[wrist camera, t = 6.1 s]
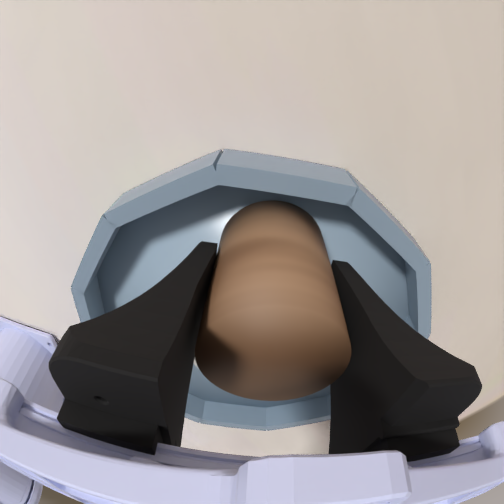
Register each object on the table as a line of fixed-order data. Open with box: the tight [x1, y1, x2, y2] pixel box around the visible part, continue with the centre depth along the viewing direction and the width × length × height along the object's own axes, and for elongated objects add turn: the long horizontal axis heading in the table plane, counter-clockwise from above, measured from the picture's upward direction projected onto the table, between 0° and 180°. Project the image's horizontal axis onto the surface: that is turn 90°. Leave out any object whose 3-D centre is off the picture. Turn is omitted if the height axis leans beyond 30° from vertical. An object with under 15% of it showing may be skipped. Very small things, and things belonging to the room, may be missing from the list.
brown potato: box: [195, 200, 351, 401], centre depth 11 cm, size 4×4×6 cm
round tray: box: [71, 149, 431, 431], centre depth 17 cm, size 20×20×2 cm
